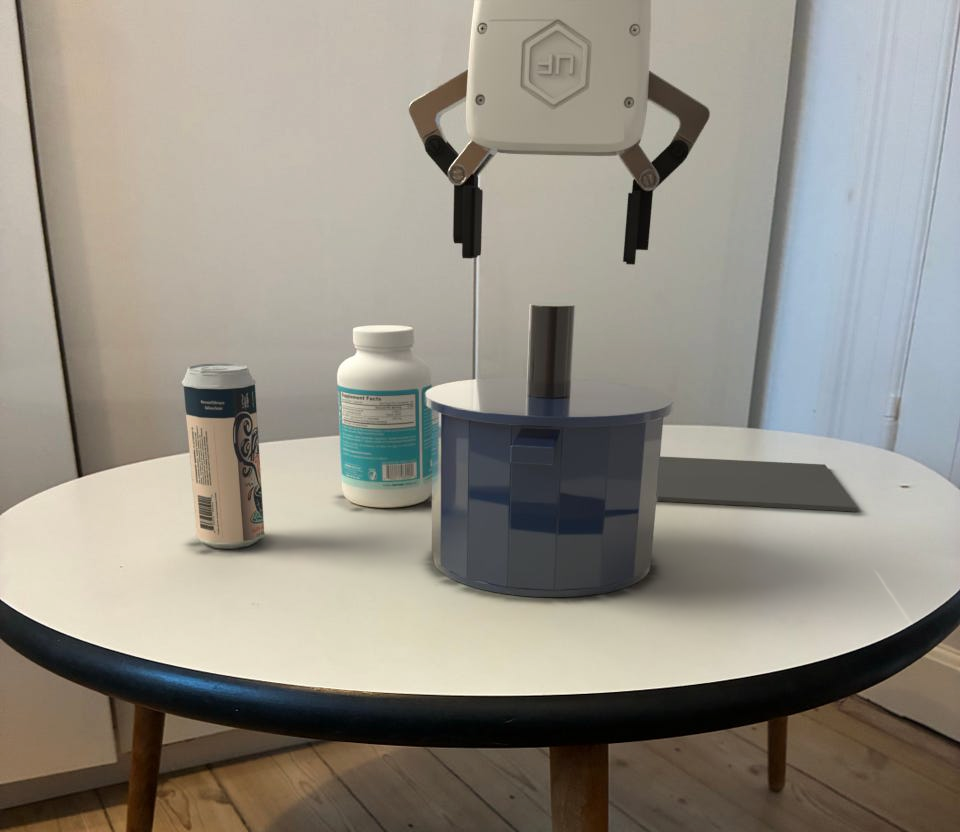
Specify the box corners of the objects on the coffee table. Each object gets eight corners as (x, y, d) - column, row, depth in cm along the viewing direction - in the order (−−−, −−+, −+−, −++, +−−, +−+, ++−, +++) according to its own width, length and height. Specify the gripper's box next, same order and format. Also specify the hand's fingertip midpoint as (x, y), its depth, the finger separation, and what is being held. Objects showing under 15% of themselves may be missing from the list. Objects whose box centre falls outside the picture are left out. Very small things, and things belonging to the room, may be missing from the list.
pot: (649, 526, 78) (660, 386, 74) (650, 620, 59) (666, 440, 55) (459, 515, 80) (461, 378, 76) (404, 603, 61) (402, 427, 57)
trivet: (824, 468, 98) (825, 464, 97) (856, 512, 83) (857, 507, 83) (655, 460, 100) (655, 456, 99) (657, 501, 85) (657, 496, 85)
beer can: (268, 548, 71) (257, 371, 66) (197, 553, 70) (181, 372, 65) (262, 529, 75) (251, 361, 70) (194, 533, 74) (179, 362, 69)
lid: (669, 399, 72) (678, 299, 69) (675, 444, 57) (687, 319, 55) (448, 390, 74) (448, 292, 71) (400, 431, 59) (399, 310, 57)
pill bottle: (382, 483, 89) (379, 321, 84) (450, 496, 85) (451, 327, 80) (322, 500, 83) (315, 327, 78) (392, 515, 79) (389, 334, 74)
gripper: (396, -93, 53) (396, 257, 60) (734, -95, 51) (697, 268, 58) (424, -57, 60) (422, 254, 67) (723, -58, 58) (691, 263, 65)
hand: (549, 260), depth 62 cm, fingers open, 9 cm apart
